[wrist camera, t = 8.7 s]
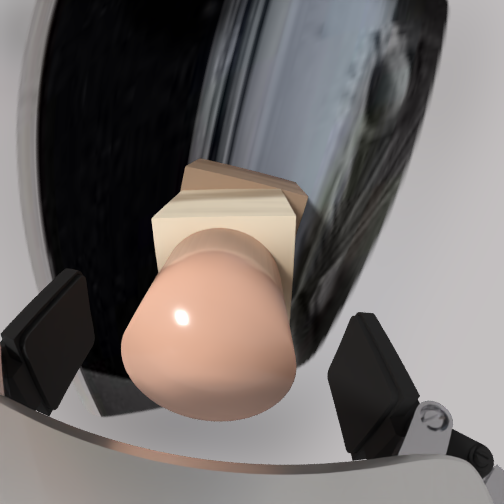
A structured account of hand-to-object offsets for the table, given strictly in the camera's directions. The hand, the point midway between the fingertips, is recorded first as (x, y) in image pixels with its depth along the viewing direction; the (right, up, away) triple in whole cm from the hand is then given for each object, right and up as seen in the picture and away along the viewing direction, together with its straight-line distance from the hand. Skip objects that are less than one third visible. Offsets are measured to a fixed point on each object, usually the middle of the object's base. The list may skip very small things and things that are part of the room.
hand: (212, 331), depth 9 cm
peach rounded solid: (0, +1, +2) cm, 3 cm away
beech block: (0, +4, +8) cm, 8 cm away
